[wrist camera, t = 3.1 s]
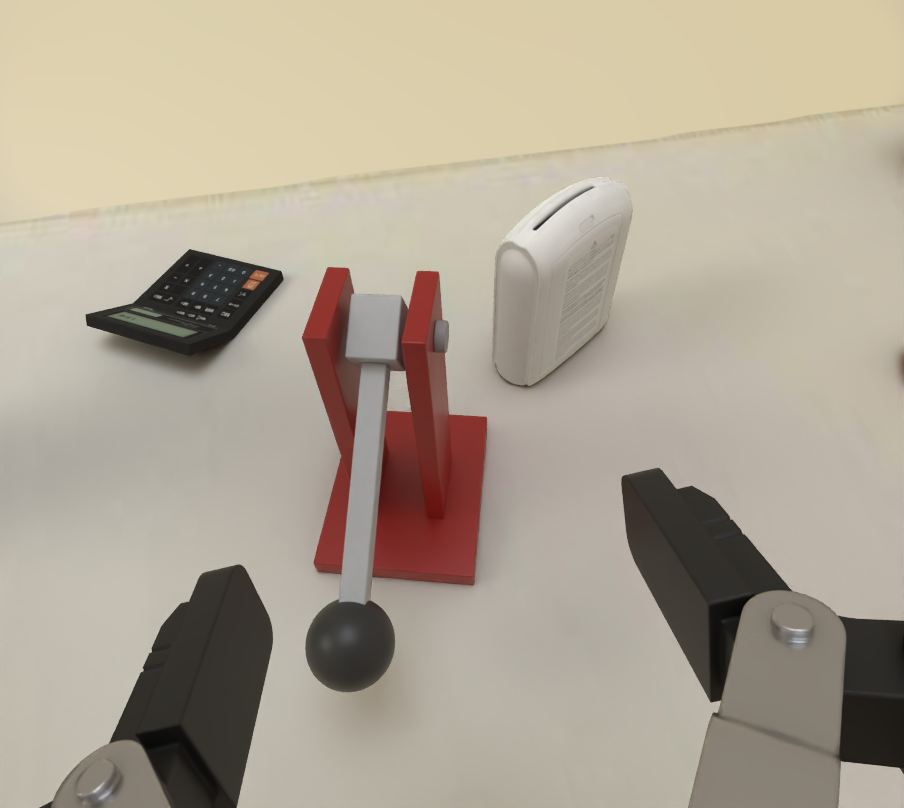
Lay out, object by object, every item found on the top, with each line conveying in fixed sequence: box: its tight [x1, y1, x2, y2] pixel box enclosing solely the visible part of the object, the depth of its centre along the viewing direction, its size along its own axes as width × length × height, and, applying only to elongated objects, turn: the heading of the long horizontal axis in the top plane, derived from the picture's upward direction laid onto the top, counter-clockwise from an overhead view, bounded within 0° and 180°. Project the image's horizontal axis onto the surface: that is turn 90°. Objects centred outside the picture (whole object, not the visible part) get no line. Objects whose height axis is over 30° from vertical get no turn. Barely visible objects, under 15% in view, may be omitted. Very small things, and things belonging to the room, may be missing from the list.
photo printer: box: [492, 177, 633, 386], centre depth 40 cm, size 10×4×12 cm, turn 135°
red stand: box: [302, 267, 487, 585], centre depth 31 cm, size 11×9×16 cm
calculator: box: [86, 249, 284, 356], centre depth 47 cm, size 9×12×3 cm
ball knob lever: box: [305, 294, 408, 692], centre depth 25 cm, size 16×4×4 cm, turn 174°
